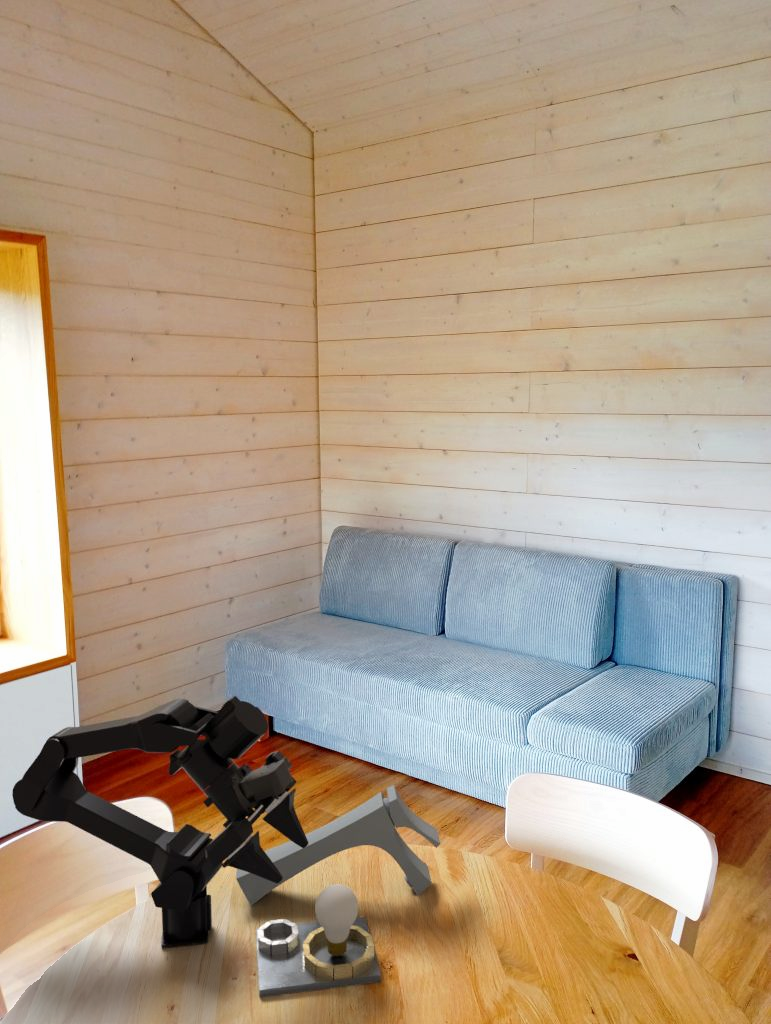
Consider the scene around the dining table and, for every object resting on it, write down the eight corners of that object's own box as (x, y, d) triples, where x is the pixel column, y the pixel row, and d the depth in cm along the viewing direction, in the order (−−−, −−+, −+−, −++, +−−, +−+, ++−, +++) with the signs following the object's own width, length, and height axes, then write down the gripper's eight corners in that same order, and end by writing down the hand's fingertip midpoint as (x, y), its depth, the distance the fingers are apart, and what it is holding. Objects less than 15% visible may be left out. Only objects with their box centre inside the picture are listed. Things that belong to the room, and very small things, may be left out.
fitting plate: (259, 997, 111) (259, 979, 110) (255, 935, 123) (255, 919, 123) (380, 981, 114) (380, 964, 113) (365, 922, 126) (364, 906, 126)
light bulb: (367, 957, 117) (366, 889, 116) (331, 975, 113) (330, 905, 112) (342, 935, 122) (341, 870, 120) (307, 952, 118) (306, 885, 117)
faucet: (284, 966, 132) (458, 879, 132) (235, 878, 129) (412, 790, 130) (285, 940, 138) (452, 858, 138) (238, 856, 135) (408, 772, 136)
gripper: (224, 771, 108) (307, 866, 106) (282, 718, 125) (354, 798, 124) (170, 821, 111) (250, 914, 109) (235, 762, 129) (304, 841, 127)
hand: (293, 863), depth 117 cm, fingers open, 9 cm apart
